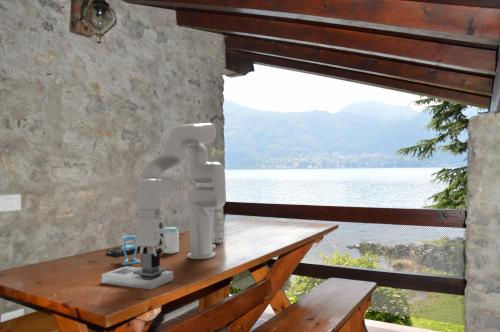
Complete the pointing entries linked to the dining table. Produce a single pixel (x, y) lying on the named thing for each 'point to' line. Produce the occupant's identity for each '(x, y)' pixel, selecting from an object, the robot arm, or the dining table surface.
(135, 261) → the chair
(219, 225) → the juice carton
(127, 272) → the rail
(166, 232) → the can
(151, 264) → the flanged block
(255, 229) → the dining table surface
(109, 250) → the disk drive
